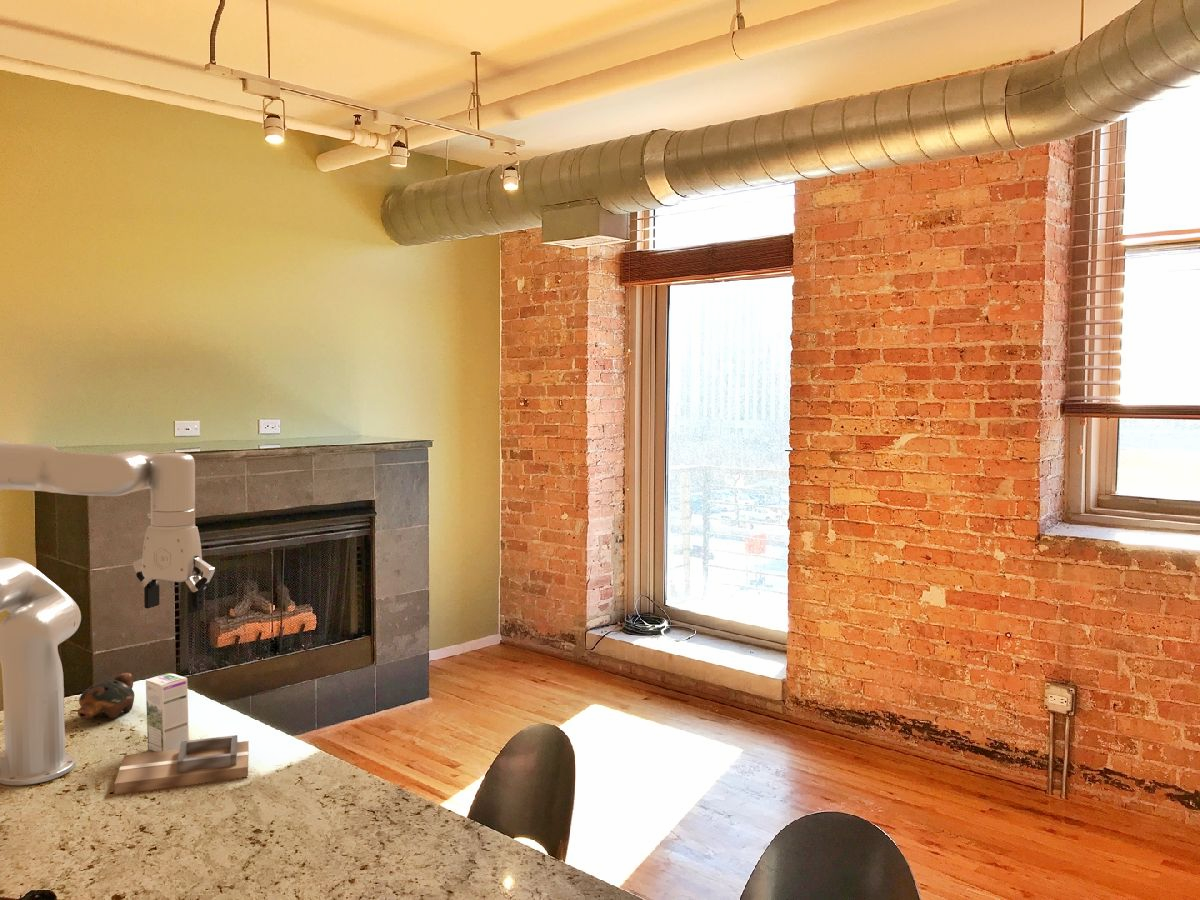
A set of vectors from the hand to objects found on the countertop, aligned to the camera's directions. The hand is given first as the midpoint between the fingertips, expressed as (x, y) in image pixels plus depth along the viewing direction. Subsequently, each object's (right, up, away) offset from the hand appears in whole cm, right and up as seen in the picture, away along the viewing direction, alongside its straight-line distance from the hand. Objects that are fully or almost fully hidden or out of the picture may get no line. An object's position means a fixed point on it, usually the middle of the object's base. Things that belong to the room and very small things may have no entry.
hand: (173, 609), depth 170 cm
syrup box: (-6, -30, +10) cm, 32 cm away
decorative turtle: (-27, -28, +27) cm, 48 cm away
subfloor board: (+2, -31, 0) cm, 31 cm away
